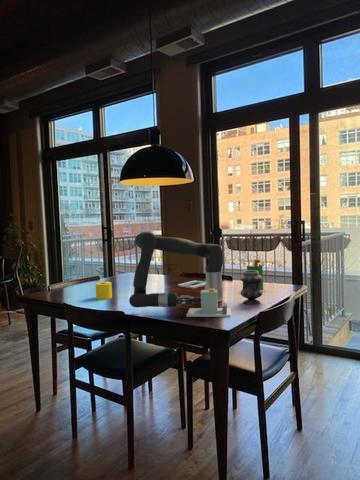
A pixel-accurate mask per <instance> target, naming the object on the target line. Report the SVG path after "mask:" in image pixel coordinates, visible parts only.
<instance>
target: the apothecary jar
mask: <svg viewBox="0 0 360 480" xmlns="http://www.w3.org/2000/svg"><path fill="white" fill-rule="evenodd" d="M261 280H262V277H261V276H260V275H259V271H255V270H247V269H246V270H243V274H241V276H240V281H241V282H242V289H241V290H240V293H239V294H240V295H241V297H243V298H244V299H245V300H243V302H242V304H244V305H249V306H252V305H253V306H256V305H260V304H261V303H262V301H260V300H259V299H258V298H261V297H262V295H263V290H260V281H261Z"/></svg>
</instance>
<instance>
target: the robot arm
mask: <svg viewBox="0 0 360 480" xmlns="http://www.w3.org/2000/svg"><path fill="white" fill-rule="evenodd" d="M134 241H135V244H136V246H137V247H138V248H139V249H140V257H139V261H138V264H137V266H136V268H135V271H134V276H133V283H132V286H133V294H132V295H130V297H129V299H128V303H129V304H130V306H131V307H133V308H146V307H147V308H149V307H150V308H151V307H153V308H158V307H160V308H178V307H179V306H178V305H179V304H180V305H181V306H185V305H192V304H194V303H201V296H200V297H199V296H198V297H197V296H195V297H194V295H189V294H185V295H184V294H182V295H178V292H157V293H156V292H154V293H153V292H152V293H147V283H148V277H149V270H150V266H151V263H152V259H153V255H154V252H155V250H156V251H157V250H158V251H162V252H166V253H168V254H172V255H179V256H195V257H196V256H197V257H201V258H204V259H207V260H208V265H206V266H205V281H206V284H205V286H204V290H209V289H213V288H214V290H217V298H218V303H219V302H222V301H223V281H222V280H223V279H222V269H223V266H224V265H223V261H224V260H223V258H224V253H223V252H224V251H223V248H222V247H221V245H219V244H214V243H197V242H195V241H192V240H190V239H186V238H181V237H174V236H172V237H170V236H157V235H155V234H154V233H153V232H150V231H149V232H148V231H145V232H144V231H143V232H141V233H139V234H137V235H136V236H135V240H134Z"/></svg>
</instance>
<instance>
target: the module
mask: <svg viewBox="0 0 360 480" xmlns="http://www.w3.org/2000/svg"><path fill="white" fill-rule="evenodd" d="M200 297H201V302H200V308H201V314H217V310H218V308H219V304H218V303H219V302H218V298H217V290H214V288H213V289H209V290H205V289H201V290H200Z"/></svg>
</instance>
